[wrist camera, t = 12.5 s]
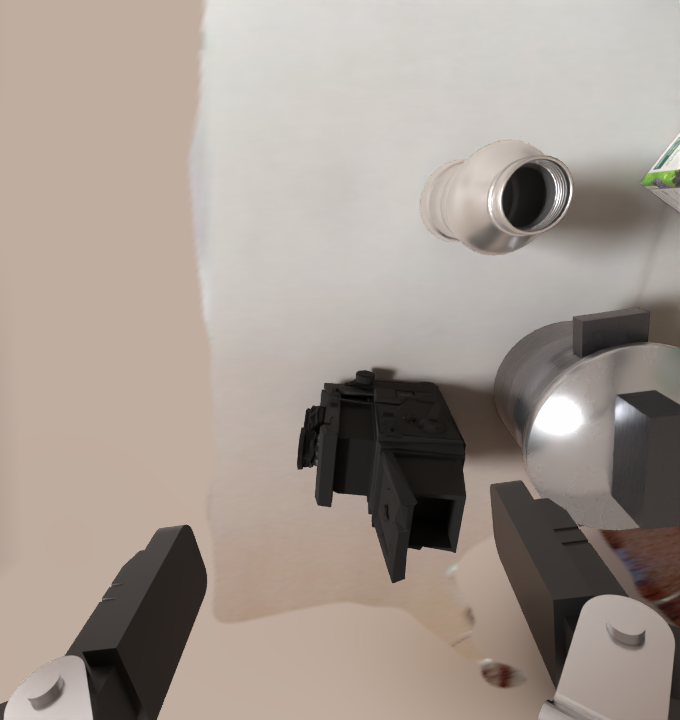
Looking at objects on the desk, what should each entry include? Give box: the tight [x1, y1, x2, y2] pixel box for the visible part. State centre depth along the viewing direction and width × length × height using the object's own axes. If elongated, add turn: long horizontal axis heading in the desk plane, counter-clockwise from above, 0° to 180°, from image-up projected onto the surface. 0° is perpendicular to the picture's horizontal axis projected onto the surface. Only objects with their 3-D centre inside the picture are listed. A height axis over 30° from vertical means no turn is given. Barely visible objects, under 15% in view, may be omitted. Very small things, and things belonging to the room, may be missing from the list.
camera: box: [297, 370, 466, 583], centre depth 38 cm, size 10×14×20 cm
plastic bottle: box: [420, 140, 574, 255], centre depth 31 cm, size 6×7×20 cm
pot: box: [494, 308, 650, 526], centre depth 41 cm, size 19×15×11 cm
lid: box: [522, 342, 680, 530], centre depth 33 cm, size 16×16×5 cm
